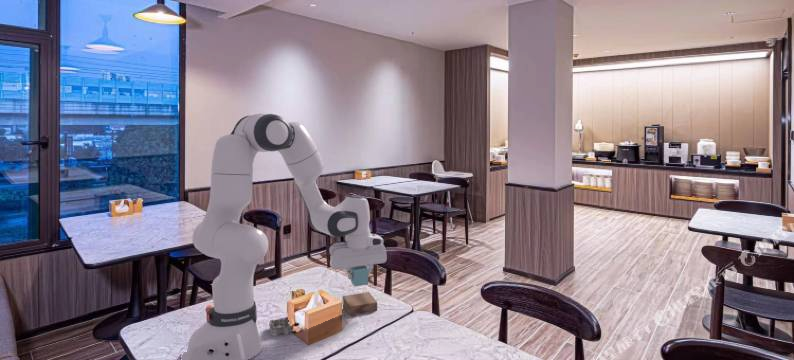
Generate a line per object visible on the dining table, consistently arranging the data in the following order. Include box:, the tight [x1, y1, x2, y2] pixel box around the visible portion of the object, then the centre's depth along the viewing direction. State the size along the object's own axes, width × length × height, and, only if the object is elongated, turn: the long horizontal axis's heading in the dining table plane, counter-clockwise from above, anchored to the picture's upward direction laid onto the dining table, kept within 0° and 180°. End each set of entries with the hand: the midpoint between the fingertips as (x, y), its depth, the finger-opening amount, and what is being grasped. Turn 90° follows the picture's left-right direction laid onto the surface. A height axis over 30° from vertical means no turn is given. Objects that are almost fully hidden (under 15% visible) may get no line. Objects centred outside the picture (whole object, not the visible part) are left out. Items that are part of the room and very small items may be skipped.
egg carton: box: [268, 316, 296, 337], centre depth 143 cm, size 11×8×4 cm
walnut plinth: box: [342, 291, 378, 316], centre depth 159 cm, size 10×10×3 cm
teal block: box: [350, 265, 369, 287], centre depth 158 cm, size 5×5×6 cm
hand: (359, 277), depth 158 cm, fingers closed on teal block, 5 cm apart
